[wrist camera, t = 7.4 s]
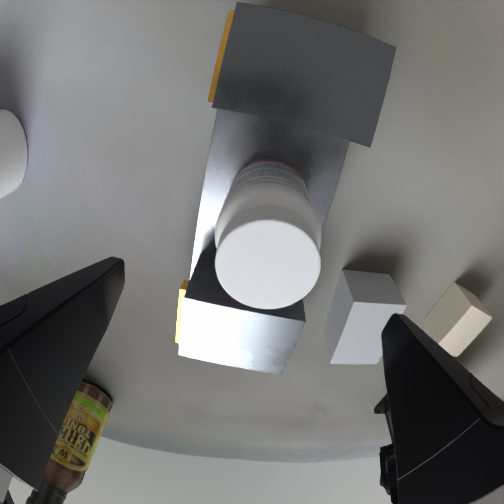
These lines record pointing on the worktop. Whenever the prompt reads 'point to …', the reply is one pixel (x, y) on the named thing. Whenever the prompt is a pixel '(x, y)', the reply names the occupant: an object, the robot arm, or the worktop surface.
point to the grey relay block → (360, 316)
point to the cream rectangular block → (456, 320)
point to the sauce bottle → (74, 445)
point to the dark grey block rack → (275, 158)
